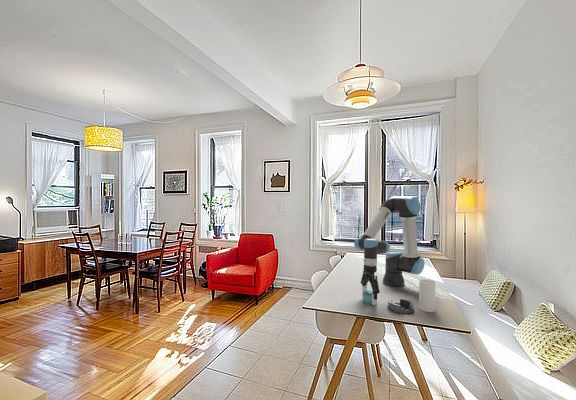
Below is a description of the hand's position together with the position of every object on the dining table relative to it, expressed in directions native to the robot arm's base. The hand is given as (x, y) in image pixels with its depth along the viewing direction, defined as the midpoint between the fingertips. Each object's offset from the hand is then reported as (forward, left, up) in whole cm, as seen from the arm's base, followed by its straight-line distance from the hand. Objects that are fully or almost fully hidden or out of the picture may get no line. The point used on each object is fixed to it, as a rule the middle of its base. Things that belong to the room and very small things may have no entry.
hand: (369, 300), depth 171 cm
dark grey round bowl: (-13, +12, -1) cm, 18 cm away
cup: (-28, +14, -2) cm, 31 cm away
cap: (0, 0, -1) cm, 1 cm away
